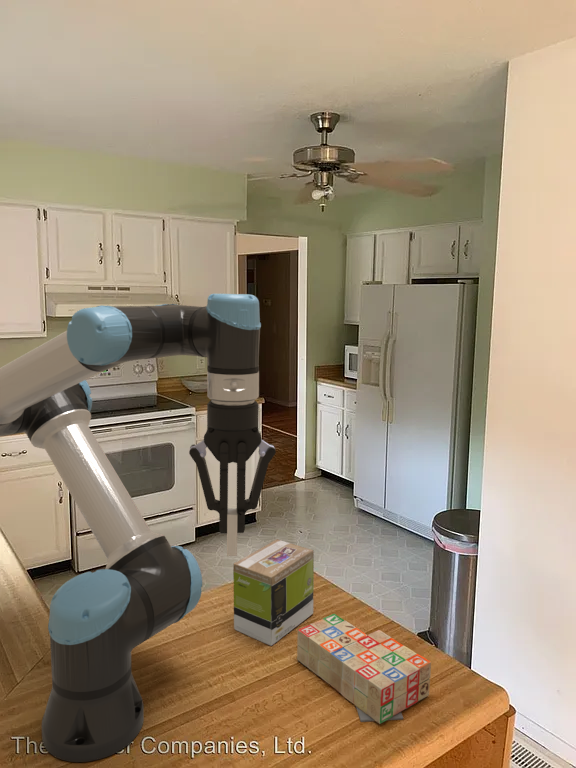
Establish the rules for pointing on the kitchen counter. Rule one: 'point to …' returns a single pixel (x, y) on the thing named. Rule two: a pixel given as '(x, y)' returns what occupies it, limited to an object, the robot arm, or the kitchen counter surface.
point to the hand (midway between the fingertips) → (231, 552)
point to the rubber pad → (366, 718)
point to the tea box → (273, 590)
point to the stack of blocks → (364, 666)
